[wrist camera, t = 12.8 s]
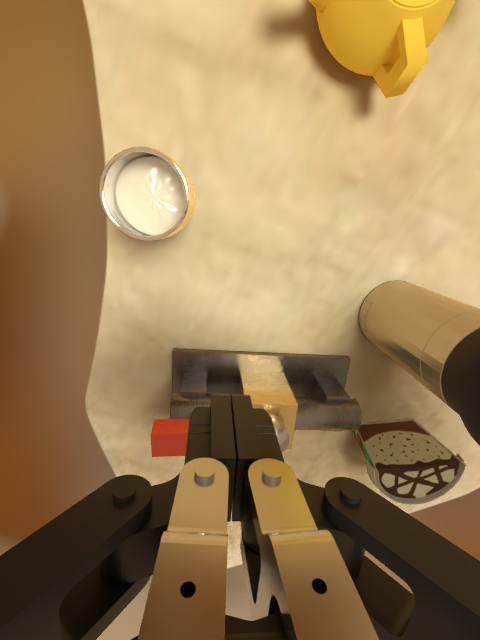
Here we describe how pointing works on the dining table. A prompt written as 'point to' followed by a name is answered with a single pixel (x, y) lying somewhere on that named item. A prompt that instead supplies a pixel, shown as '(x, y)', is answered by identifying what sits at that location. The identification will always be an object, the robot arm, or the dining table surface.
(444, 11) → the teapot
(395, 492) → the food container
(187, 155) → the dining table surface
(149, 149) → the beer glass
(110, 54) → the dining table surface
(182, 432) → the valve lever
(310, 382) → the valve pipe
